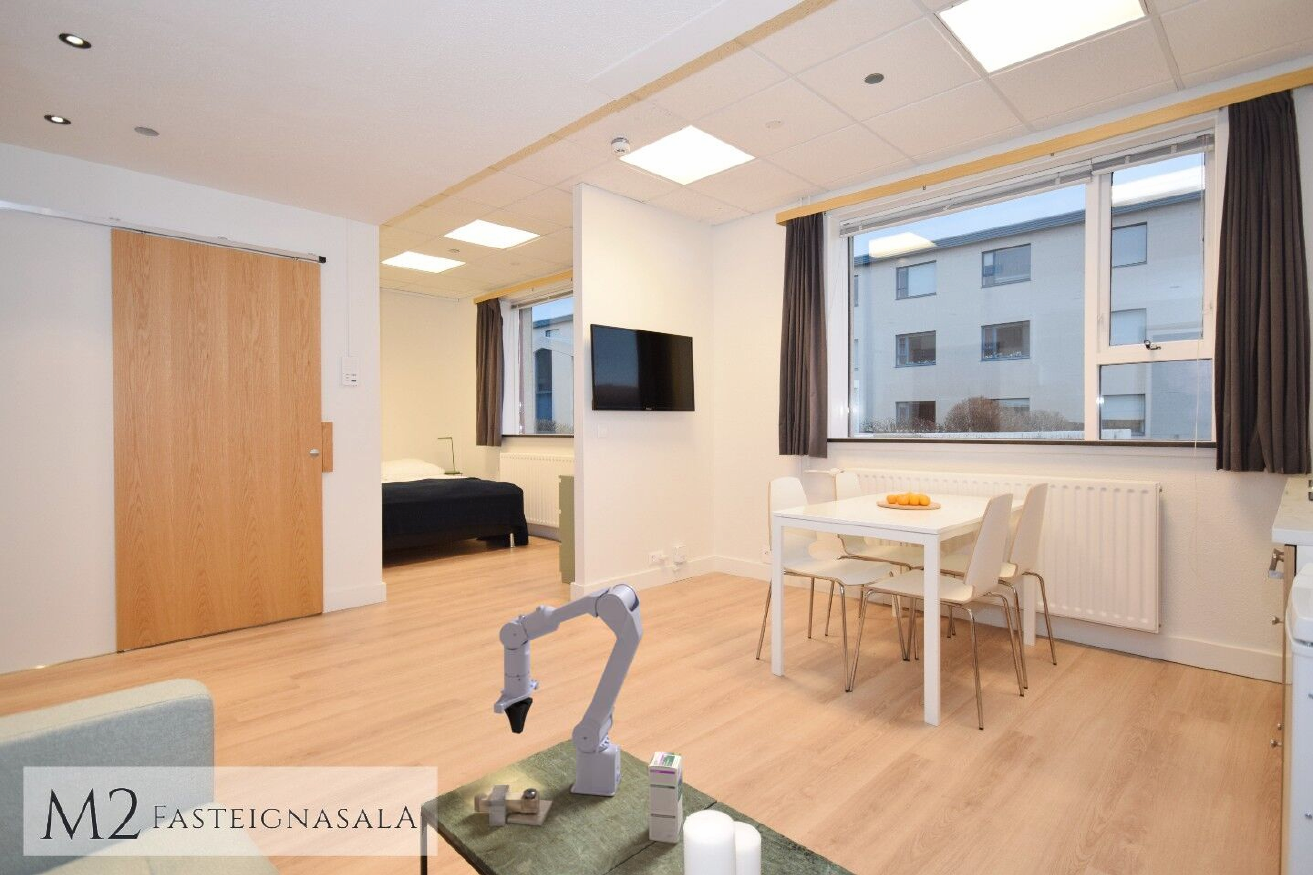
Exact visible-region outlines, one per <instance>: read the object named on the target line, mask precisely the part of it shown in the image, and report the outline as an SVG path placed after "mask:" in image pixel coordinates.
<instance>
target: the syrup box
mask: <svg viewBox="0 0 1313 875" xmlns="http://www.w3.org/2000/svg"><path fill="white" fill-rule="evenodd" d="M647 771H648V774H647V775H648V780H647V782H648V785H647V786H648V834H649V835H648V838H649V840H651V841H656V842H662V843H669V844H679V841H680V837H681V834H682V831H683V829H684V828H683V827H684V800H683V799H684V796H683V795H684V794H683V793H684V791H683V788H684V787H683V786H684V785H683V784H684V782H683V755H682V753H678V752H677V753H676V752H671V751H670V752H669V751H654V753H653V756H652V758H651V759H650V762H649V764H648V767H647Z"/></svg>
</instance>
